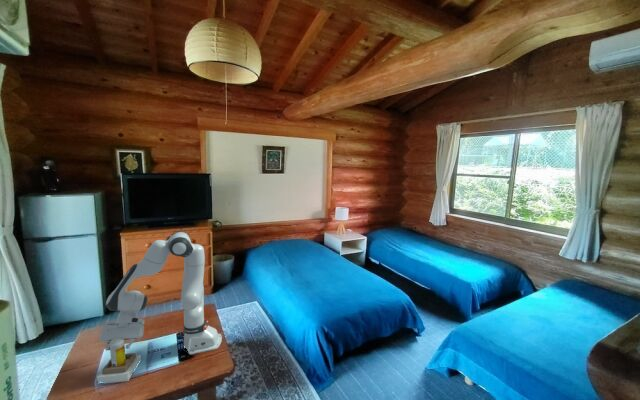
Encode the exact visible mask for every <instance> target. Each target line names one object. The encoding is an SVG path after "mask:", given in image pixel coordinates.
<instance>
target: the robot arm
mask: <svg viewBox="0 0 640 400" xmlns="http://www.w3.org/2000/svg"><path fill="white" fill-rule="evenodd" d="M171 254H172V256H175V257H182V258H184V259H183V261H184V262H183V277H182V286H181V293H180V294H181V295H180V305H181V307H182V308H183V323H184V324H183V335H184V336H183V343H184V346H185V348H186V349H187V351H188V352H187V351H186V352H187V354H189V355H195V354H200V353H206V352H210V351H215V350H217V349H218V348H219V347H221V344H222V340H223V337H222V334H221V333H218V330H217V329H216V328H215V327H214V326H210V325H209V320H205V311H204V308H205V305H204V304H205V303H204V302H205V300H204V299H205V289H204V288H205V287H204V278H205V277H204V275H205V262H206V256H205V249H204V246H203V245H201V244H198V243H192V241H191V237H190V235H189V234H188V232H186V231H183V230H179V231H175V232H174V233H172V234H171V235H170V236H168V237H166V240H164V239H157V240H155V241H153V242H152V243H151V245H150V246H149V247H148V248H147V250H146V252H145V255H144V257H143V258H142V259H141V261H139V262H138V263H135V264H133V265H132V266H131V267H129V269H128V270H127V272H126V273H125V274H124V276H123V277H122V278H121V280H120V281H119V283H118V284H117V285H116V286H115V288H114V290H112V292H110V294H109V295H108V297H107V299H106V301H105V307H106V308H107V309H108V310H109V311H110V312H111V311H120V312H119V313H118V315H117V319H116V321H112V322H107V323H105V324H104V326H103V327H102V330H101V333H100V335H99V337H98V340H99V342H103V343H104V342H105V351H110V342H111V340H113V339H114V338H116V339H117V338H123V339H124V341H129V343H127V344H125V350H126V349H127V350H129V349H131V345H132V344H133V343H134V342H135V340H140V339H142V337H143V336H144V332H145V326H144V325H145V320H144V319H142V318H140V317H138V312H141V311H143V310H144V309H145V308H146V306H147V302H148V296H147V295H146V294H145V293H142V292H141V291H139V290H135V289H134V290H129V291H126V289H127V288H128V287H129V285H130V284H131V283H132V282H133V280H135V279H138V278H142V277H148V276H153V275H156V274H158V273H160V272H161V271H162V269H163V268H164V266H165V263H166V262H167V259H168V258H169V256H170V255H171Z"/></svg>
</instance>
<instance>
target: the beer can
mask: <svg viewBox="0 0 640 400" xmlns="http://www.w3.org/2000/svg"><path fill="white" fill-rule="evenodd" d="M109 346H110V350H109V351H110V352H109V353H110V359H111V363H112V367H122V366H124V365H125V364H126V356H125V354H126V344H125V340H124V339H123V338H117V339H116V338H114V339H113V340H111V342H110V343H109Z"/></svg>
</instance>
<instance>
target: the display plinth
mask: <svg viewBox="0 0 640 400" xmlns="http://www.w3.org/2000/svg"><path fill="white" fill-rule="evenodd" d="M125 356H126V364H125V365H124V366H122V367H112V363H111V358H110V359H109V360H108V362H107V363H106V364H105V366H104V367H103V368H102V369H101V372H100V373H99V374H98V375H97V377H96V379H97V383H98V382H99V381H101V382H105V383H104V384H111V383H112V384H113V383H120V382H121V383H122V382H129V380H130V379H131V378H132V376H133V374H134V373H133V371H134V369H135V368H136V366H137V364H138V363H139V361H140V360H141V361H142V357H141V354H137V353H136V352H133V353H131V352H130V353H125ZM136 369H137V368H136ZM134 372H135V371H134ZM132 373H133V374H132Z"/></svg>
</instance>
